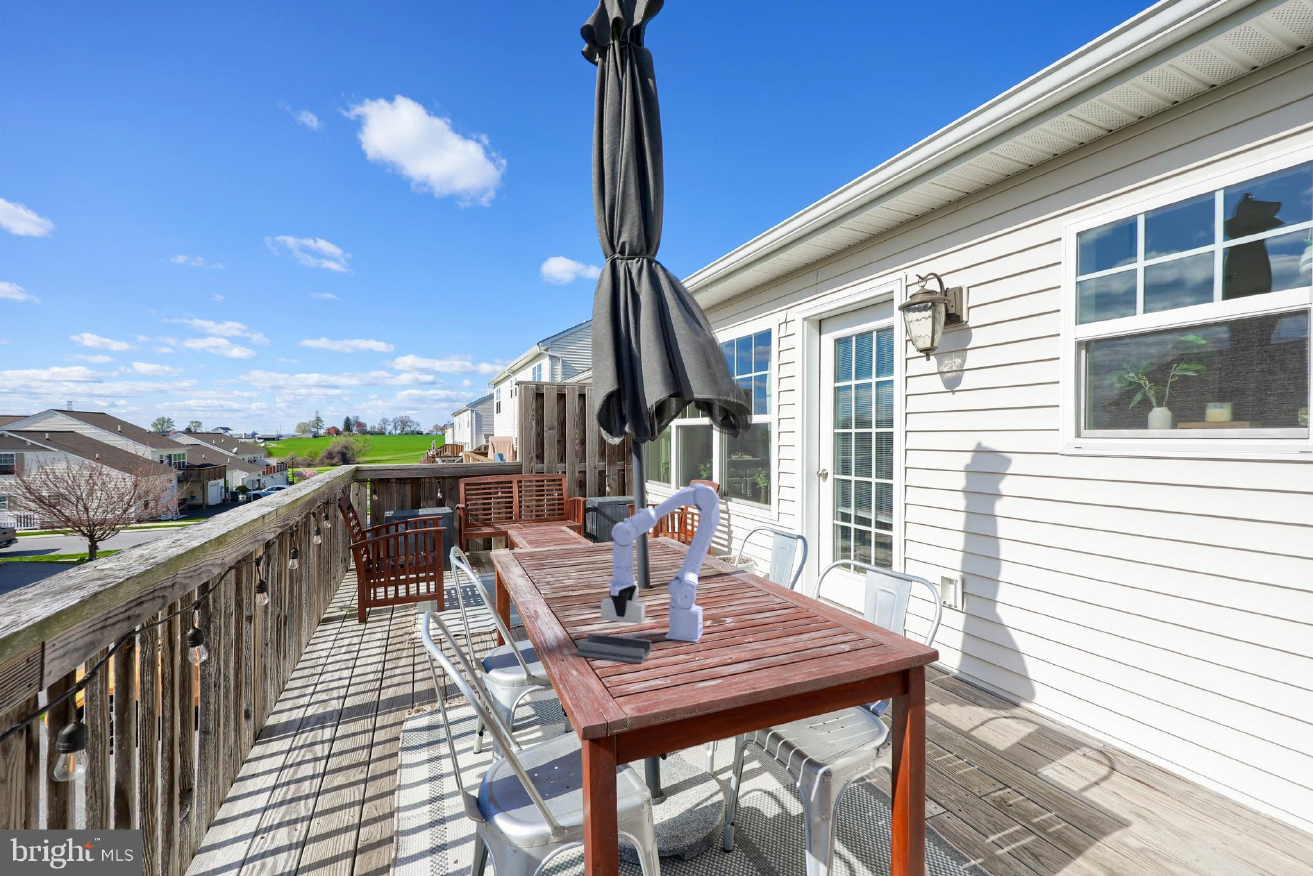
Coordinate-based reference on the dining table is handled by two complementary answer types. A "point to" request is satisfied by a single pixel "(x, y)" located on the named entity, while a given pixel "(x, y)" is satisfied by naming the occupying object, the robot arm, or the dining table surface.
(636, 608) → the grey metal bar
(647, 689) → the dining table surface
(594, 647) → the grey u-channel tray
